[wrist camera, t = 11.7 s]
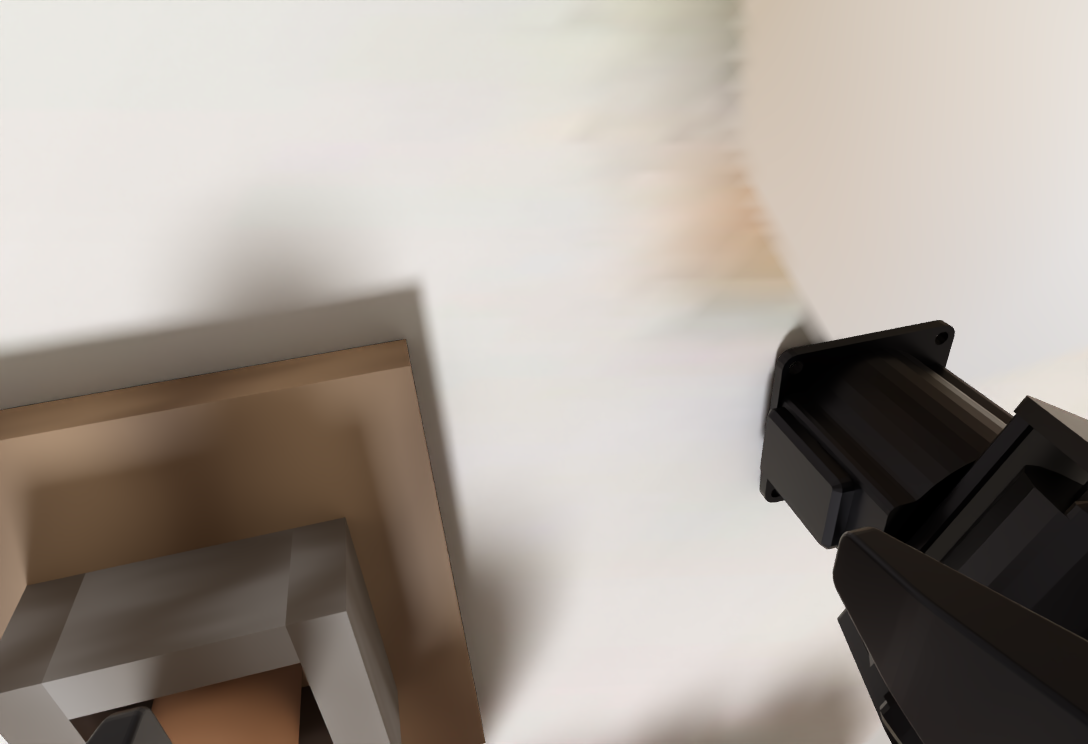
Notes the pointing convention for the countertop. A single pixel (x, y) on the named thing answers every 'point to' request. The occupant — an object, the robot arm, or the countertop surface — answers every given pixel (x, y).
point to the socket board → (232, 552)
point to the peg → (236, 710)
